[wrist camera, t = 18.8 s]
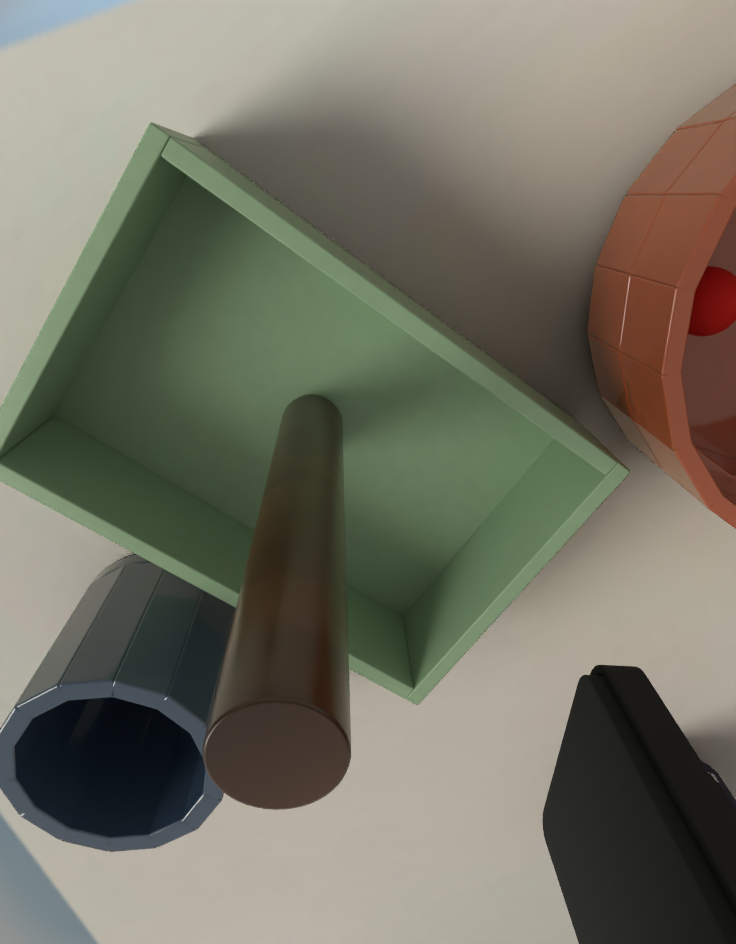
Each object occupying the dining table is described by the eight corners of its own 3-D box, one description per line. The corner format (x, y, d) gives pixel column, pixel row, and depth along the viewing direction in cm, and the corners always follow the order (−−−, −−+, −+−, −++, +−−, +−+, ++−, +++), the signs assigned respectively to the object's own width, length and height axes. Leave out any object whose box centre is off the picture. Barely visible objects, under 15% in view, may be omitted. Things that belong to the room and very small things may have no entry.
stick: (269, 431, 22) (174, 774, 9) (303, 382, 21) (251, 675, 8) (320, 462, 22) (299, 830, 9) (354, 416, 22) (379, 741, 9)
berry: (651, 278, 20) (661, 315, 19) (718, 240, 19) (734, 277, 18) (680, 322, 21) (691, 361, 20) (745, 289, 20) (763, 327, 19)
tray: (39, 413, 22) (-31, 465, 18) (191, 136, 19) (150, 121, 15) (404, 623, 26) (417, 706, 22) (577, 420, 23) (631, 471, 19)
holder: (52, 644, 25) (-46, 798, 19) (133, 518, 23) (55, 641, 17) (199, 715, 27) (156, 879, 21) (286, 602, 25) (269, 744, 19)
